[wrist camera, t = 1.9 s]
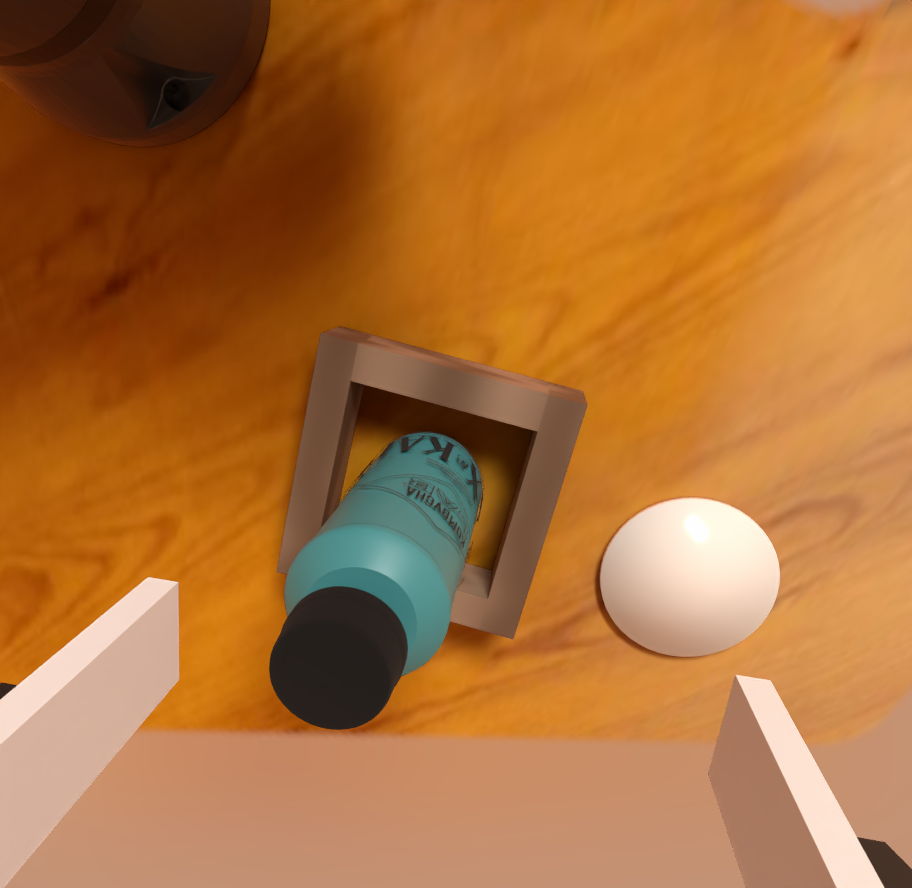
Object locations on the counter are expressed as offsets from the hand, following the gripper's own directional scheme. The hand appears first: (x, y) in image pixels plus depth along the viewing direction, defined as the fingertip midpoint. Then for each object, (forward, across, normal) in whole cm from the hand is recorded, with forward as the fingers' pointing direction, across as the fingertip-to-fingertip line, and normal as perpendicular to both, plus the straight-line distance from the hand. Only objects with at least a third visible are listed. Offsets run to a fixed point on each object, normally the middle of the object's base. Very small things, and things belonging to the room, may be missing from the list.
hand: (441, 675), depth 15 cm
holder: (+23, -4, -3) cm, 24 cm away
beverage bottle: (+23, -4, -3) cm, 24 cm away
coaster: (+23, +12, -7) cm, 27 cm away
